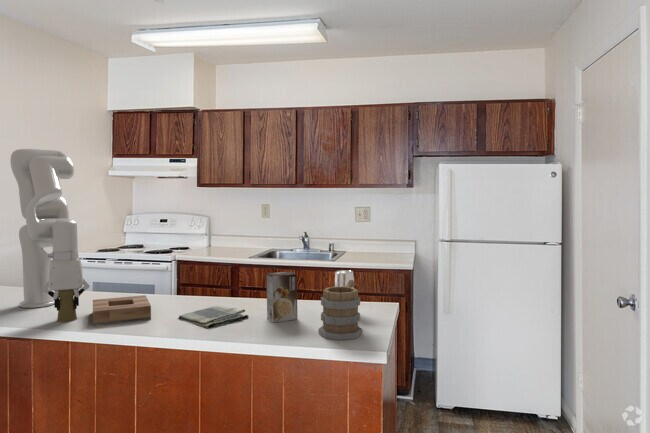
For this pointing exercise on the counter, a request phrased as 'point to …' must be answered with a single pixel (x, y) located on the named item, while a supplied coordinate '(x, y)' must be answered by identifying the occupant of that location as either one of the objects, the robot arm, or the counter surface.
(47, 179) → the robot arm
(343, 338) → the tankard
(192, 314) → the dish towel
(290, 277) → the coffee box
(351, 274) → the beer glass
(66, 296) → the cork
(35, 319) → the counter surface
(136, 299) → the docking block
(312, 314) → the counter surface
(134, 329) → the counter surface
